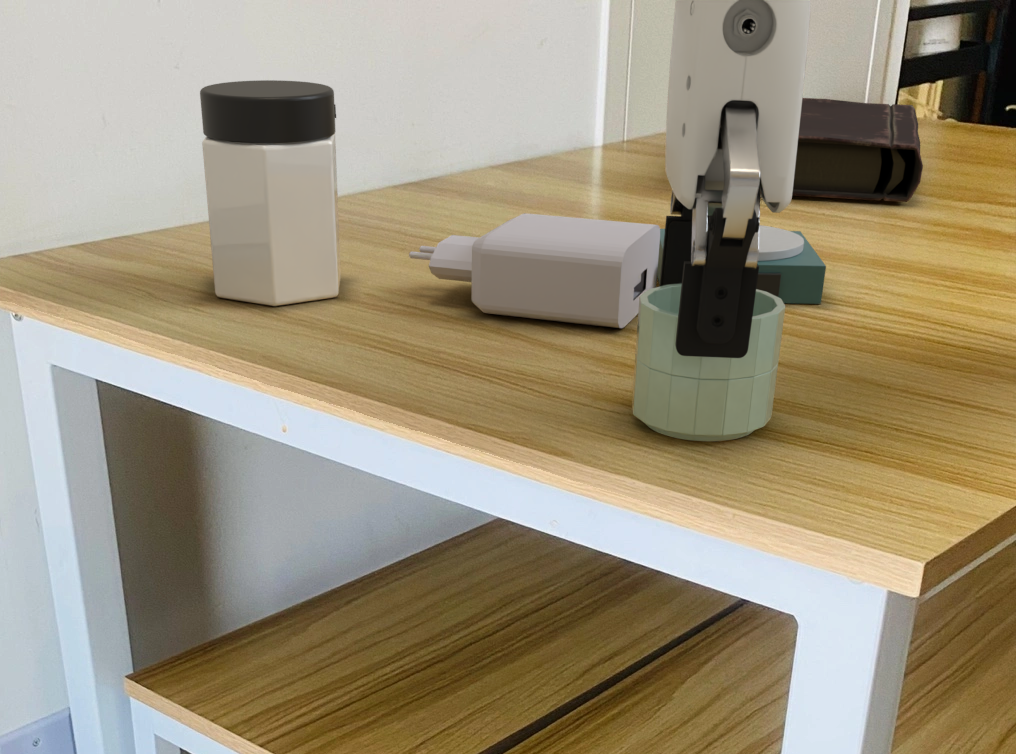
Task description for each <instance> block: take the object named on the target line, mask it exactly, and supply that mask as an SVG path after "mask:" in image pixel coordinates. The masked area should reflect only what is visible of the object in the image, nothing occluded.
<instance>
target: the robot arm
mask: <svg viewBox="0 0 1016 754" xmlns="http://www.w3.org/2000/svg"><path fill="white" fill-rule="evenodd" d="M674 2H675V3H674V14H673V24H672V35H671V45H670V46H671V47H670V60H669V72H668V85H667V86H668V87H667V100H666V101H667V104H666V121H665V123H666V125H665V156H664V157H665V158H664V162H665V175H666V178H667V180H668V182H669V185H670V188H671V196H670V206H669V208H670V209H669V210H670V212H669V213H670V215H666V216H665V225H664V229H665V234H664V244H663V255H662V265H661V275H660V284H659V286H658V287H660V286H664V285H670V284H681V283H682V285H681V295H680V304H679V314H678V323H677V333H676V342H675V346H676V350H677V352H678V353H679V354H680V355H682V356H696V357H721V358H742V357H744V356H745V355H746V354H747V352H748V347H749V339H750V332H751V324H752V317H753V309H754V302H755V294H756V287H757V280H758V272H759V266H758V264H757V263H758V257H759V234H760V225H761V224H760V223H761V200H762V202H763V203H764V204H765V205H766V207H767V208H768V209H769V210H770V212H772V213H774V214H780V213H781V212H783V211H784V210H786V209H787V207H788V206H789V205H790V204H791V202H792V198H793V195H792V192H793V183H794V174H795V164H796V154H797V145H798V135H799V126H800V116H801V107H802V98H804V87H805V77H806V66H807V58H808V47H809V36H810V22H811V20H810V19H811V9H812V0H675V1H674ZM720 124H721V127H720Z"/></svg>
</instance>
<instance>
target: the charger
mask: <svg viewBox="0 0 1016 754" xmlns="http://www.w3.org/2000/svg"><path fill="white" fill-rule="evenodd" d="M660 229H661V228H660V225H658V224H652V223H643V222H641V223H640V222H630V221H629V222H628V221H619V220H618V221H617V220H608V219H607V220H606V219H595V218H582V217H573V216H560V215H550V214H537V213H524V212H523V213H521V214H519V215H518V216H515V217H512V218H511V219H509V220H506V221H505V222H503V223H502V224H500V225H498V226H496V227H495V228H493V229H492V230H489V231H488V232H487V233H485V234H483V235H481V236H480V237H479V236H478V237H477V236H468V235H467V236H466V235H459V234H451V235H450V236H448V237H446V238H444V239H442V240H441V241H439V242H438V243H437V245H436V246H429V245H421V246H419V250H418V251H411V250H410V252H409V253H408V257H409V258H410V259H414V260H422V261H423V260H426V261H429V264H428V269H429V271H430V273H431V274H432V275H433V276H435V277H436V278H437V279H439V280H446V281H456V282H465V283H467V282H468V283H471V303H473V304H474V305H475V306H476V307H477V308H478V309H479V310H480V311H481V312H483V314H489V315H500V316H506V317H507V316H509V317H518V318H527V319H535V320H543V321H554V322H562V323H571V324H581V325H589V326H598V327H607V328H616V329H623V328H625V327H626V326H627V325H628V324H629V323H630V322H631V321H632V320H633V319H635V317H636V316H638V311H639V297H640V295H642V294H643V293H644V292H646V291H647V290H649V289H652V288H656V287H657V281H658V277H657V270H658V257H659V244H660Z"/></svg>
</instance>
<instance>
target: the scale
mask: <svg viewBox="0 0 1016 754" xmlns="http://www.w3.org/2000/svg"><path fill="white" fill-rule="evenodd" d="M664 234H665V228H660V244H659V257H658V270H657V281H658V284H659V285H660V275H661V265H662V255H663V244H664ZM757 264H758V266H759V272H758V280H757V287H756V289H758V290H762V291H766V292H768V293H770V294H772V295H775V296H777V297H779V298H781V299H782V301H783V303H784V304H795V305H796V304H798V305H801V304H802V305H821V304H822V299H823V291H824V283H825V277H826V270H827V265H826V264H825V262H824V261H823V260H822V259H821V257H820V256H819V254H818V253H817V252H816V250H815V249H814V248H813V246H812V245H811V244H810V242H809V241H808V240H807V238H806V237H805V235H804V234H803V233H802V231H800V230H787V229H783V228H779V227H774V226H768V225H761V224H760V234H759V257H758V263H757Z"/></svg>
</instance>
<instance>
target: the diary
mask: <svg viewBox="0 0 1016 754" xmlns="http://www.w3.org/2000/svg"><path fill="white" fill-rule="evenodd" d="M720 127H721V124H720ZM923 167H924V165H923V160H922V156H921V140H920V136H919V121H918V117H917V112H916V108H915V107H914V105H913V104H893V103H892V104H891V105H890V104H889V103H874V102H861V101H860V102H859V101H849V100H840V99H831V98H815V97H814V98H813V97H812V98H811V97H803V98H802V107H801V116H800V126H799V135H798V145H797V154H796V164H795V174H794V183H793V192H792V196H796V197H797V196H799V197H816V198H830V199H831V198H833V199H847V200H848V199H849V200H866V201H881V200H882V199H883V201H884V202H898V203H899V202H901V203H908V201H910V200H911V199H912V197H913V195H914V194H915V192H916V190H917V189H918V187H919V186H920V184H921V181H922V174H923Z"/></svg>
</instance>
